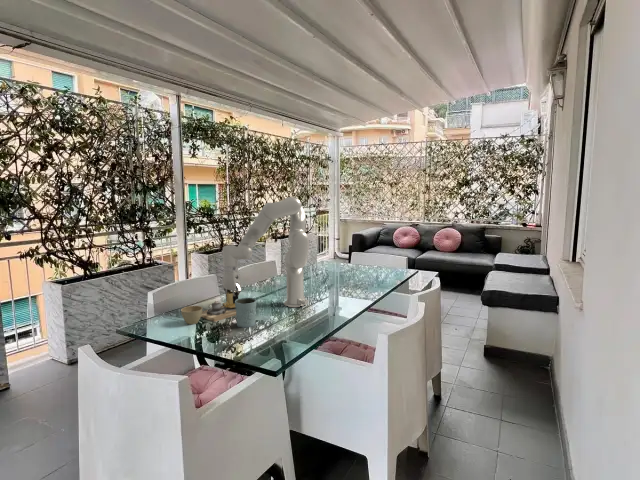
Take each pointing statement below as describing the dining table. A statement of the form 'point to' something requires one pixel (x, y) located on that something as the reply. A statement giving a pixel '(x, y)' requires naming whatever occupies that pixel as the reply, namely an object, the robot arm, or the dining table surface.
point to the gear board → (218, 312)
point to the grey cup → (245, 312)
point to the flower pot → (191, 314)
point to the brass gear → (229, 300)
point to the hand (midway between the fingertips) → (232, 301)
